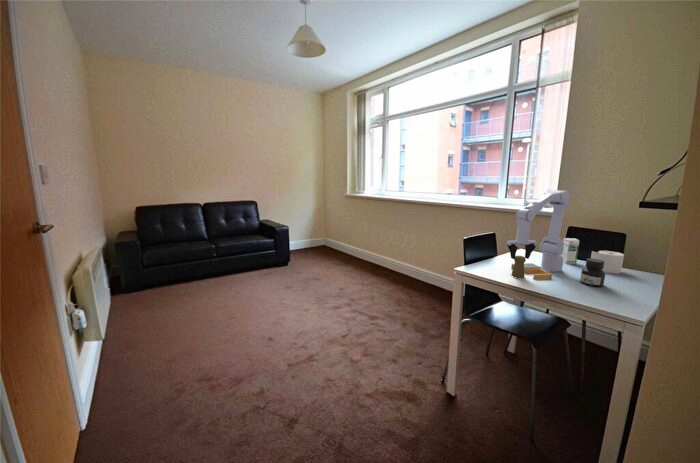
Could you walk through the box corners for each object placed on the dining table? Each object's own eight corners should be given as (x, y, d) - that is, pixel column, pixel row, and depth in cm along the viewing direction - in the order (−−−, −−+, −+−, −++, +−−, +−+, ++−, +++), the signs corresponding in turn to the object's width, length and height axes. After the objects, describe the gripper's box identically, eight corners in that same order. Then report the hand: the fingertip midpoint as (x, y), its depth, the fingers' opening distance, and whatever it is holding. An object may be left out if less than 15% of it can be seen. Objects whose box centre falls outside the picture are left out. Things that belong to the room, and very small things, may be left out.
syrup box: (565, 263, 176) (569, 239, 174) (560, 260, 182) (563, 237, 179) (576, 264, 175) (580, 240, 173) (570, 261, 181) (574, 237, 178)
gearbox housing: (531, 268, 167) (532, 261, 167) (553, 278, 151) (554, 271, 150) (511, 268, 166) (511, 262, 166) (531, 279, 150) (532, 271, 149)
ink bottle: (575, 282, 147) (578, 258, 144) (585, 279, 150) (589, 256, 148) (597, 289, 138) (601, 264, 136) (608, 286, 142) (612, 262, 139)
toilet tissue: (626, 273, 159) (629, 255, 157) (603, 273, 159) (606, 255, 157) (609, 267, 169) (612, 250, 167) (588, 267, 169) (591, 250, 167)
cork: (523, 275, 156) (525, 255, 154) (525, 279, 151) (528, 258, 149) (510, 273, 158) (512, 254, 156) (512, 277, 153) (514, 257, 151)
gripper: (514, 234, 145) (511, 261, 148) (542, 233, 147) (538, 260, 149) (505, 231, 152) (502, 257, 155) (532, 231, 154) (529, 256, 156)
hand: (519, 258), depth 153 cm, fingers open, 7 cm apart
